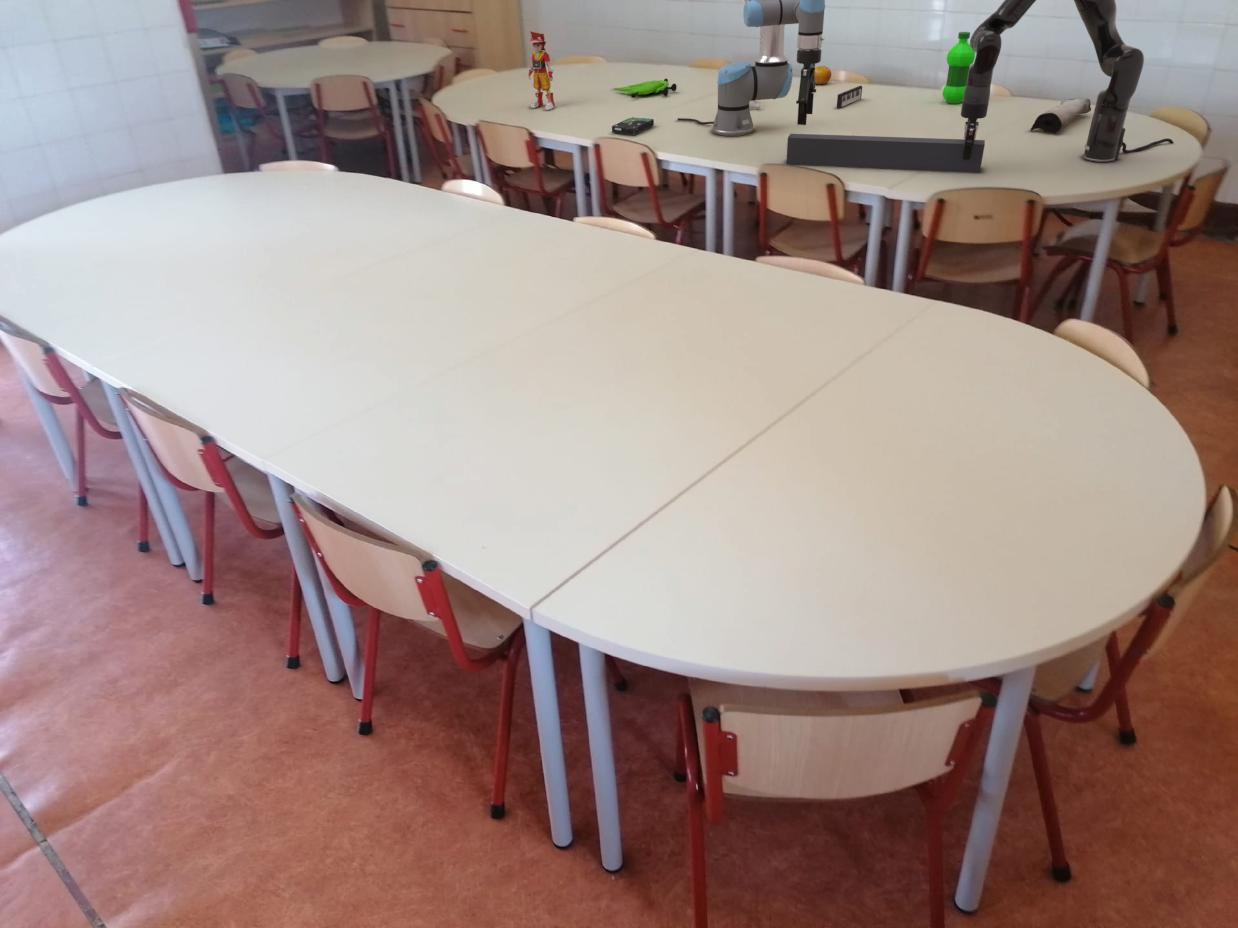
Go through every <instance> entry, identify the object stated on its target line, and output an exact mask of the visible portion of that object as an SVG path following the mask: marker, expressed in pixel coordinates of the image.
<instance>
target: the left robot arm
mask: <svg viewBox="0 0 1238 928" xmlns="http://www.w3.org/2000/svg"><path fill="white" fill-rule="evenodd" d="M744 2H745V3H744V6H743V12H742V15H743V16H742V17H743V22H744V25H745V26H746V27H748V28H760V29H759V32H760V33H759V55H758V56H757V58H755V61H754V65H753V66H752V65H751V63H750V62H748V61H742V62H741V61H739V62H737V61H736V62H732V63H727V64H726V65H723V66H722V67H720V69H719V70H718V75H717V111H716V114H715V118H714V120H713V121H700V120H698V119H695V118H684V117H683V118H682V117H678V118H677V121H683V122H687V121H688V122H695V123H697V124H699V125H712V133H713V134H715V135H717V136H721V137H741V136H746V135H750V134H752V133H754V127H755V126H754V122H753V118H752V115H751V111H750V109H749V102H750V101H755V100H756V101H764V100H777V99H782V98H785V97H786V96H787V95H788V94H789V92H790V90H791V87H792V84H793V82H792V81H793V75H794V74H793V66H792V64H791V63H789V61H788V60H789V59H788V57H787V56H786V55H785V30H786V29H785V28H786V26H785V25H796V24H797V25H798V28H797V29H798V31H797V45H796V46H797V47H796V48H797V50H796V63H798V64H802V65H803V66H802V68H801V70H800V80H799V89H798V98H797V100H796V101H795V104H796V105H798V106H797V108H798V109H797V123H796V124H797V125H796V126H806V125H807V117H808V115H813V109H814V95H815V93H817V88H816V84H815V68H816V64H819V63H820V62H821V60H822V49H821V48H822V45H823V41H824V40H825V37H824V36H823V33H824V22H825V21H824V20H825V9H826V0H744ZM756 101H755V102H756Z"/></svg>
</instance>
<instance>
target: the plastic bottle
mask: <svg viewBox="0 0 1238 928" xmlns="http://www.w3.org/2000/svg"><path fill="white" fill-rule="evenodd" d="M970 38H971V32H970V31H959V32H958V36H957V39H958V42H957V43H956V44H954V45H953V46H952V47H951V48H950V49H949V50H948V52H947V54H946V63H947V64H948V69H947V70H948V71H947V76H946V77H947V78H946V84H945V85H944V87H943V90H942V97H943V99H944V100H945V101H946V102H947V103H948V104H960V103H961V102H963V96H964V91H965V88H966V83H967V77H968V71H969V68H970V66H971V65H972V64H974V62H975V58H976V52H975V51H973V50H972V48H971V47H970V42H968V41H969V39H970Z"/></svg>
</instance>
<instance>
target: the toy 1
mask: <svg viewBox="0 0 1238 928" xmlns="http://www.w3.org/2000/svg"><path fill="white" fill-rule="evenodd" d="M529 33H530V35H531V36H528V37H527V38H528V39H529V40H528V41H527V43H529V44H530V43H531V44H532V48H533V50H534V51H533V52H532V55H531V58H530V59H531V63H530V66H528V74H527V75H528V76H527V77H528V79H529V80H531V75H532V74H533V84H532V85H533V86H532V87H533V88H534V89H535V90H536V92H534V95H535V97H536V100H535V101H533V102H531V105H530V108H531V109H535V108H538V107H542V106H544V101H543V100H544V99H543V95H544V92H546V94H545V97H546V99H547V103H546V104H545V106H544V110H546V111H549V110H553V109H554V107H555V106H556V105H555V99H554V92H551V91H550V90H551V86H552V84H551V82H552V81H553V80H554V77H553V73H554V71H555V70H554V69H552V68H551V63H550V61H551V59H550V58H551V57H550V54H549V53H548V52H547V50H546V48H545V46H546V44H547V41H545V35H544V33H543V32H542V33H539V32H535V31H529Z"/></svg>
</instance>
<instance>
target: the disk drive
mask: <svg viewBox="0 0 1238 928" xmlns="http://www.w3.org/2000/svg"><path fill="white" fill-rule="evenodd" d="M653 126H655V121H654V118H645V117H633V116H632V117H628V118H627V119H624V120H621V121H619V122H618V123H615V124H613V125H612V126H611V132H612V133H614V134H620V135H629V136H630V135H631V136H635V135H638V134H639V133H642V132H644V131H646V130H648V129H651V128H653Z"/></svg>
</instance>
